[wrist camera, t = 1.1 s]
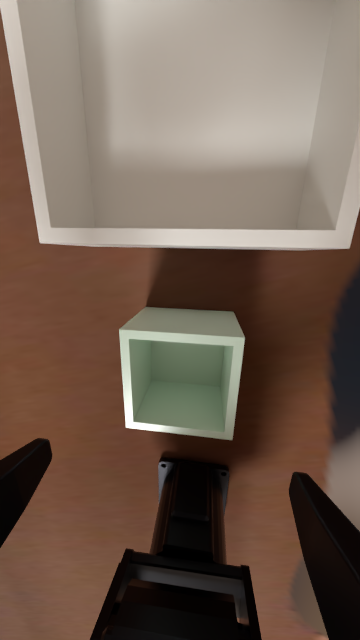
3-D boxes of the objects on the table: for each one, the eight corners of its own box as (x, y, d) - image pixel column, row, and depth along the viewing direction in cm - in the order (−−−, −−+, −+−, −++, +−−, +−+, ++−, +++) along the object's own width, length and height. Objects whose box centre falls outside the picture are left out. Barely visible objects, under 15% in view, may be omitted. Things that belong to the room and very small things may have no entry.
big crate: (300, 250, 14) (349, 248, 9) (92, 246, 15) (39, 243, 10) (361, -85, 9) (519, -436, 5) (64, -42, 11) (-47, -270, 6)
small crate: (225, 388, 17) (232, 440, 12) (147, 381, 18) (125, 427, 13) (233, 311, 15) (244, 337, 10) (145, 306, 16) (119, 329, 11)
